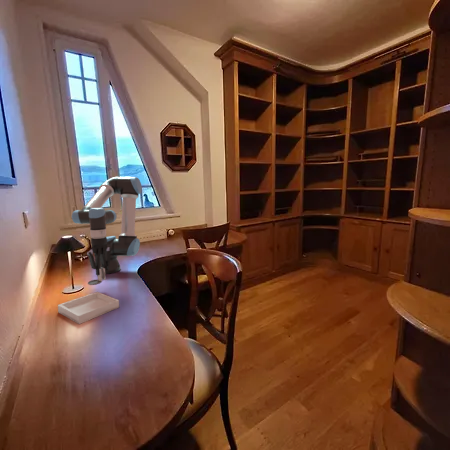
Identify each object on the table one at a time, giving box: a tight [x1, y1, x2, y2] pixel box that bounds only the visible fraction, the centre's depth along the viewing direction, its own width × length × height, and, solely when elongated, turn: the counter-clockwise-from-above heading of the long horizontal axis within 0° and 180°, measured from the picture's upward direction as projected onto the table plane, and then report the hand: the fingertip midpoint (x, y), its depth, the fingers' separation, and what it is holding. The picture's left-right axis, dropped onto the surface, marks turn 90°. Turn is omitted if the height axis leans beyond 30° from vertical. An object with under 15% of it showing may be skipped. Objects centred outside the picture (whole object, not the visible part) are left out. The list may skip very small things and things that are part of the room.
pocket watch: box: [87, 264, 106, 286], centre depth 133 cm, size 8×8×10 cm
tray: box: [57, 291, 120, 325], centre depth 114 cm, size 18×18×4 cm
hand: (101, 279), depth 136 cm, fingers closed on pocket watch
